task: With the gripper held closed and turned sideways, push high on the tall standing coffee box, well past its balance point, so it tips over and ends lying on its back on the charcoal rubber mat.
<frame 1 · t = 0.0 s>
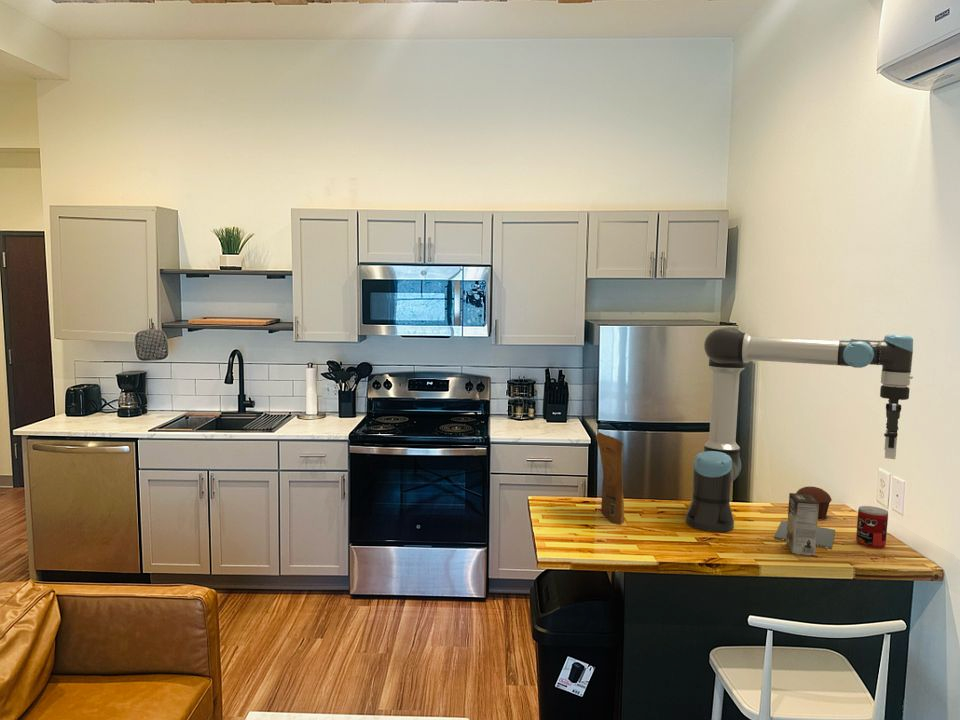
hand: (889, 454, 205), 28 cm above the table, tool pointing down, fingers open, 13 cm apart
pancake mix bag: (609, 517, 226), on the table
canned food: (870, 545, 206), on the table
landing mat: (805, 534, 213), on the table
coffee box: (800, 550, 200), on the table
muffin: (811, 516, 233), on the table
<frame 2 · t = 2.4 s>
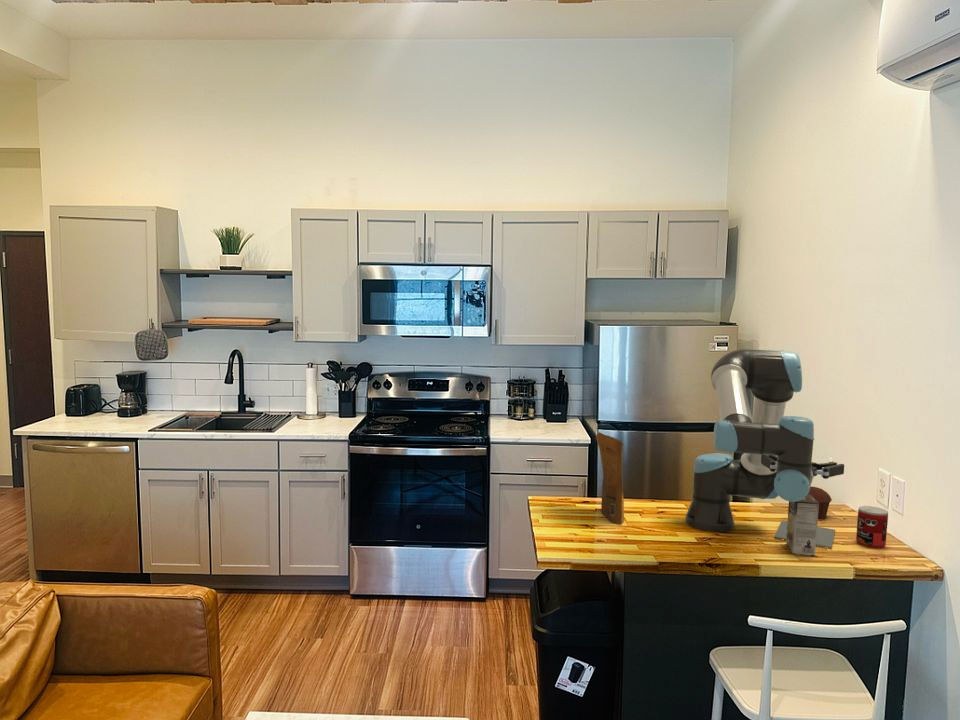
hand: (803, 458, 186), 30 cm above the table, tool horizontal, fingers open, 13 cm apart
nothing on the table moved.
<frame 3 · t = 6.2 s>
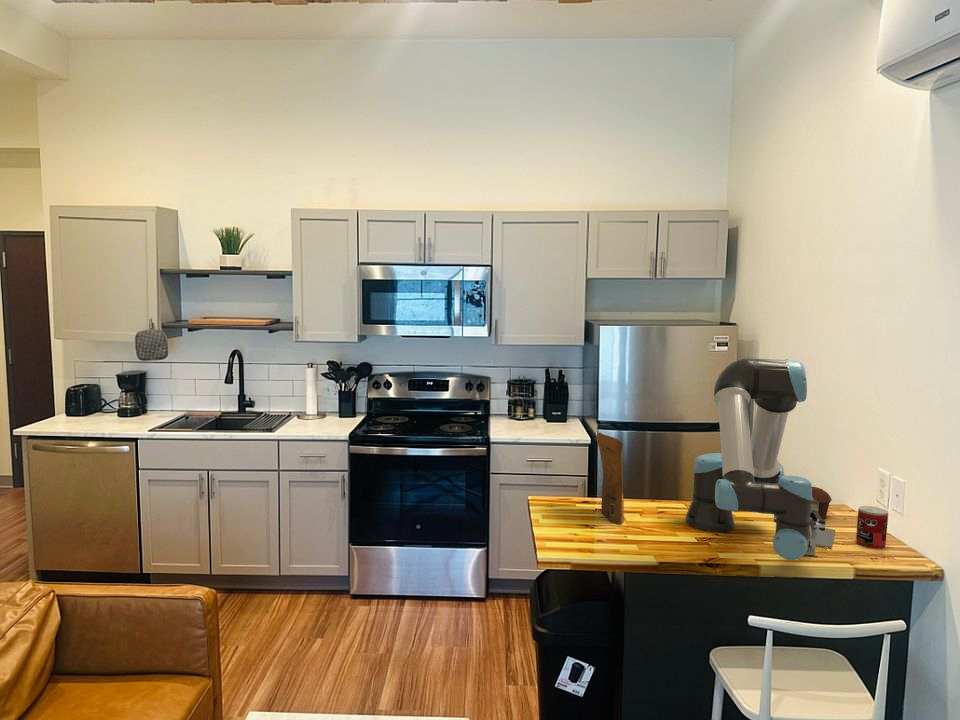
hand: (805, 506, 194), 15 cm above the table, tool horizontal, fingers closed
coffee box: (800, 550, 200), on the table, touching gripper
everything else where it was.
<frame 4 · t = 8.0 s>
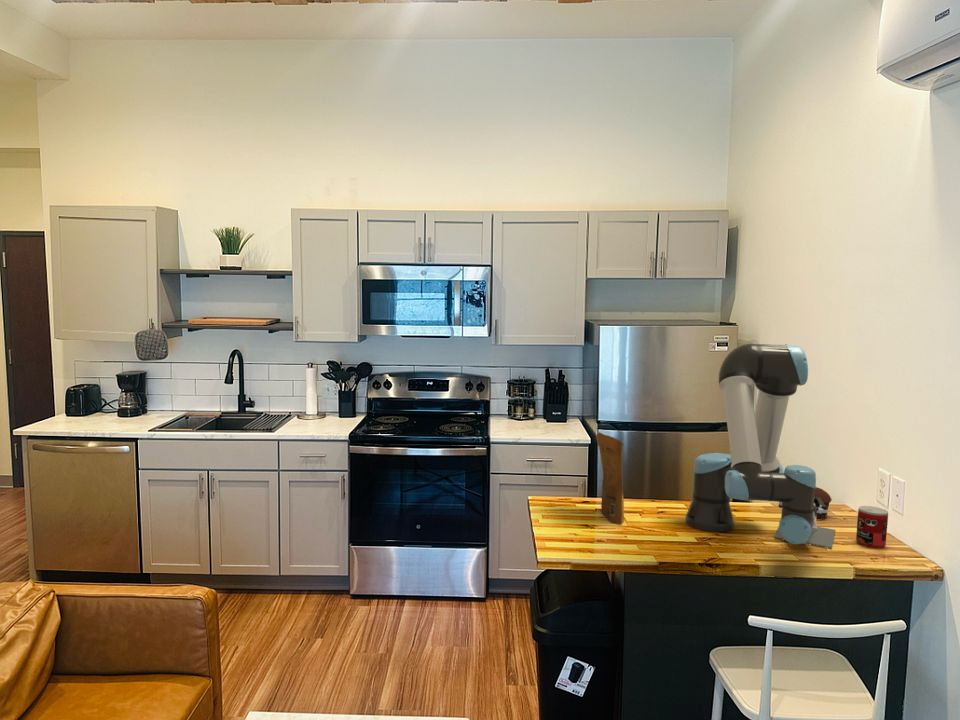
hand: (807, 492, 205), 16 cm above the table, tool horizontal, fingers closed
coffee box: (801, 534, 201), point 4 cm above the table, touching gripper
everything else where it was.
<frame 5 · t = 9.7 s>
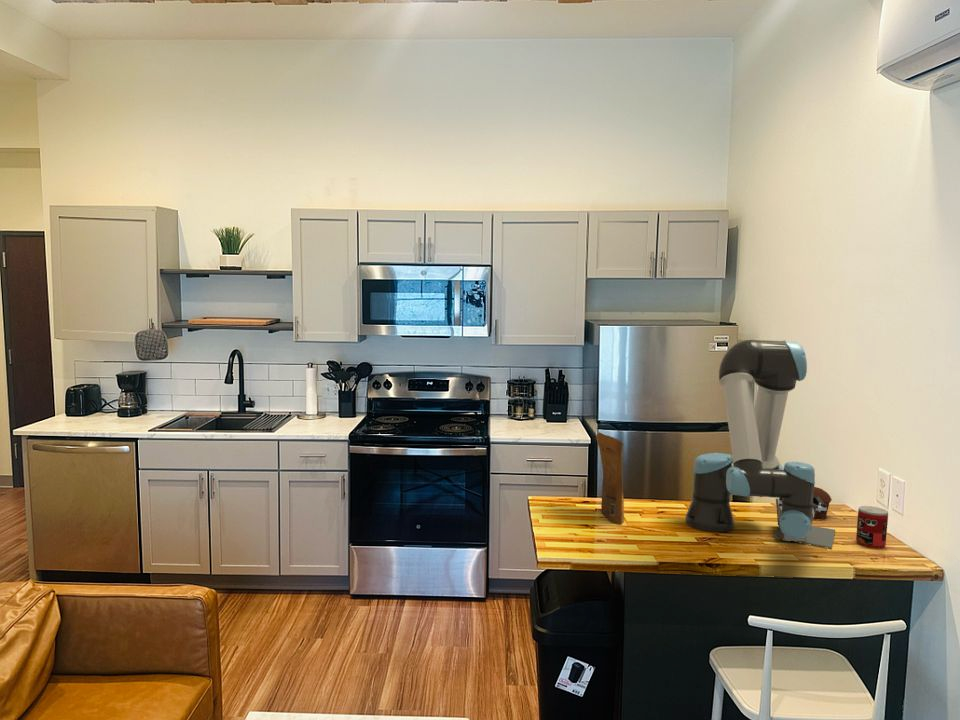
hand: (807, 492, 209), 14 cm above the table, tool horizontal, fingers closed
coffee box: (794, 526, 204), point 5 cm above the table, touching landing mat
everything else where it was.
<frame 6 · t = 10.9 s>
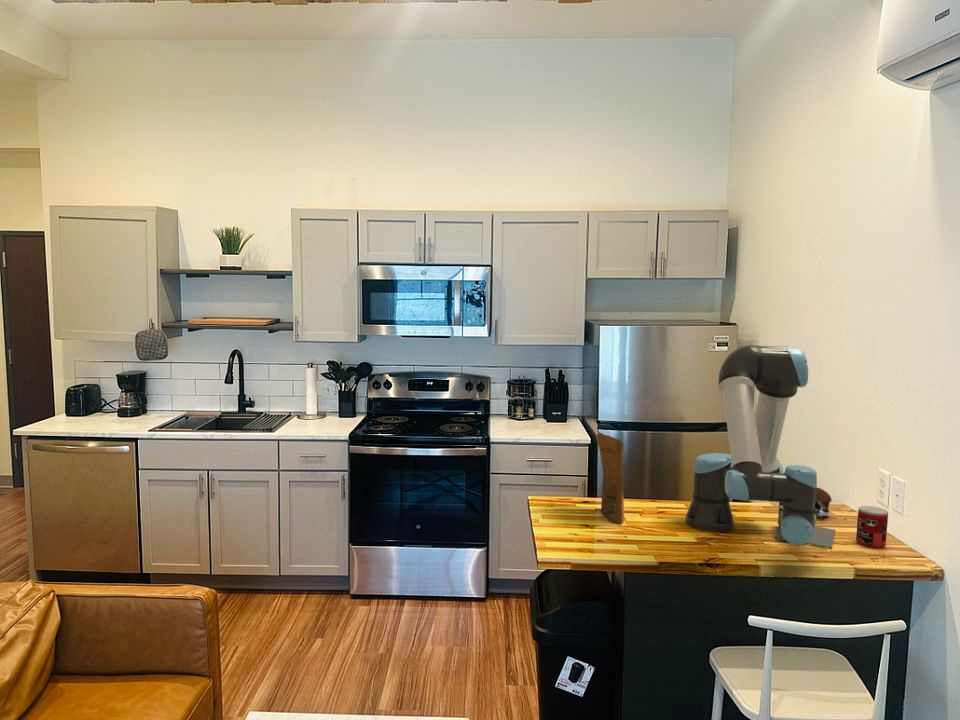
hand: (808, 496, 203), 15 cm above the table, tool horizontal, fingers closed
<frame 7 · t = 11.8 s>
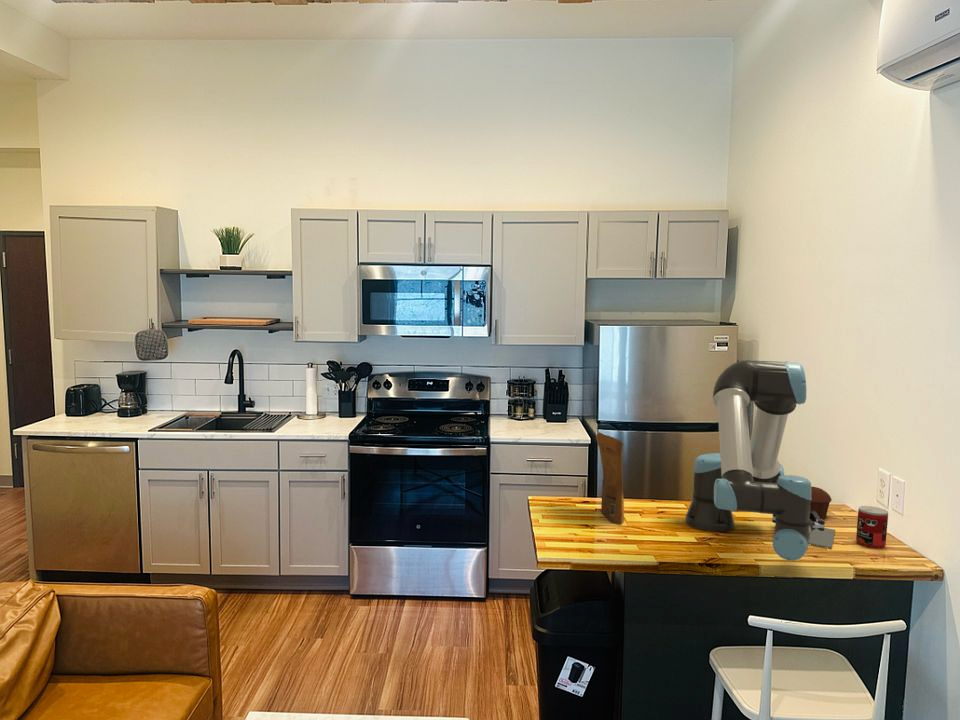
hand: (803, 506, 192), 15 cm above the table, tool horizontal, fingers closed
nothing on the table moved.
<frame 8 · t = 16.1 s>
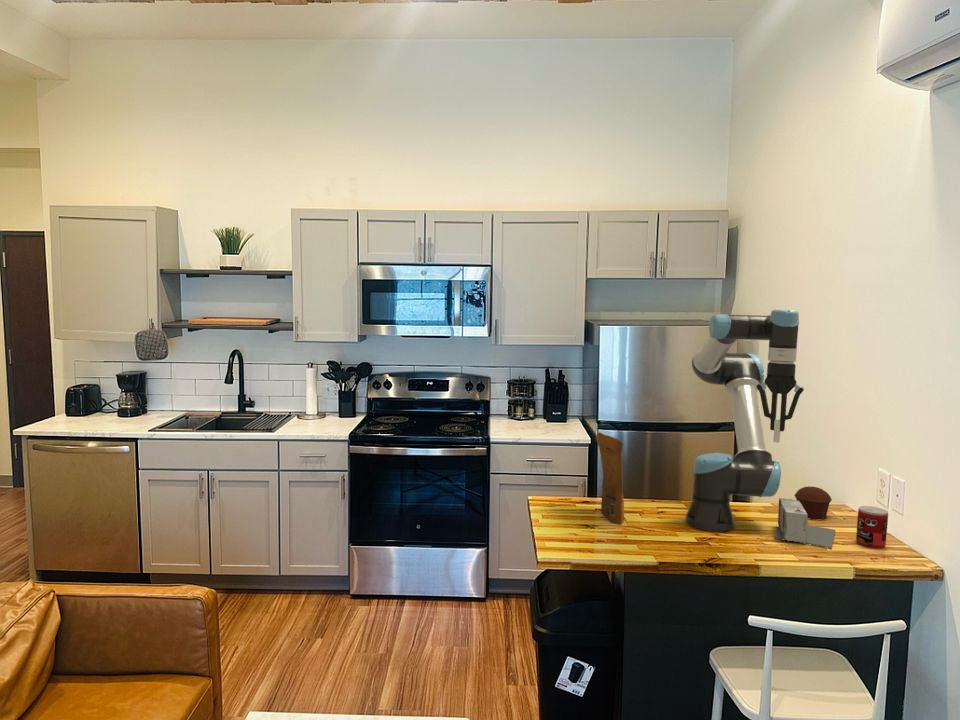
hand: (776, 441, 197), 32 cm above the table, tool pointing down, fingers closed
nothing on the table moved.
at the end: coffee box tilted 91°; coffee box inside the target area (4.8 cm from its centre), point 5.2 cm above the table; canned food moved 0.2 cm from its start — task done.
